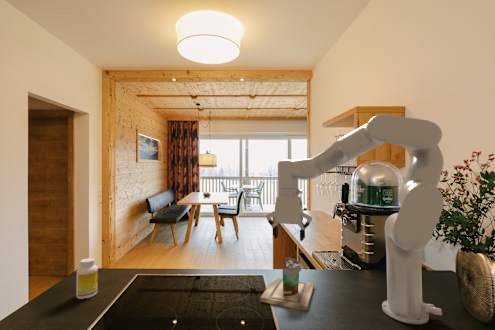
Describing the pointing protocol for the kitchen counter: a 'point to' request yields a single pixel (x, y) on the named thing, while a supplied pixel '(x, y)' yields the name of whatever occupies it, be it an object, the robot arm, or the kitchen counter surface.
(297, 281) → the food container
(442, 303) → the kitchen counter surface
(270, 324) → the kitchen counter surface
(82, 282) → the supplement bottle
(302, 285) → the base board
